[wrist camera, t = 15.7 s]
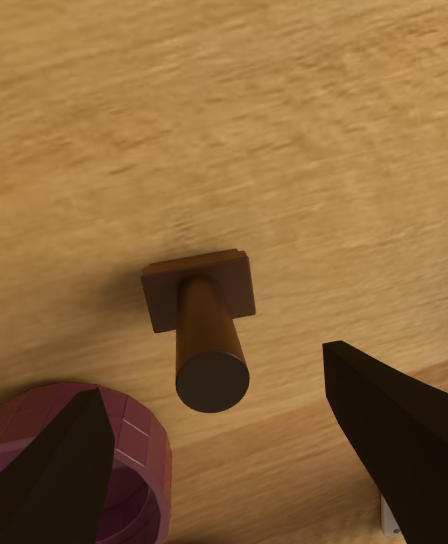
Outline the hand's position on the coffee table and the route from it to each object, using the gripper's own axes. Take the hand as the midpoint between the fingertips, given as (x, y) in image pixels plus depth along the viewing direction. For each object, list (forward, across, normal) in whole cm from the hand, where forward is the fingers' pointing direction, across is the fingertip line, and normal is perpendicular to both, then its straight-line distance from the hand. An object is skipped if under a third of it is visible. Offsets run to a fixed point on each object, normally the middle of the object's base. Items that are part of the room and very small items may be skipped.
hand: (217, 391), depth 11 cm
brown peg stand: (+8, 0, -1) cm, 8 cm away
